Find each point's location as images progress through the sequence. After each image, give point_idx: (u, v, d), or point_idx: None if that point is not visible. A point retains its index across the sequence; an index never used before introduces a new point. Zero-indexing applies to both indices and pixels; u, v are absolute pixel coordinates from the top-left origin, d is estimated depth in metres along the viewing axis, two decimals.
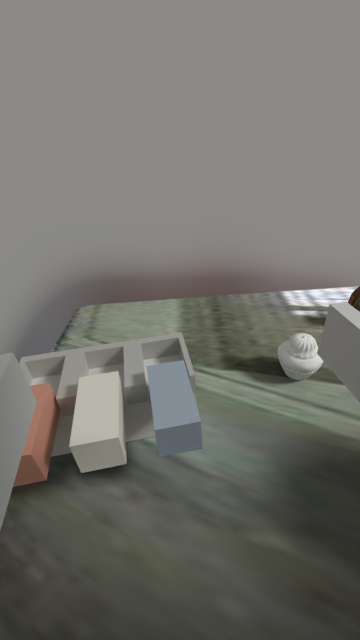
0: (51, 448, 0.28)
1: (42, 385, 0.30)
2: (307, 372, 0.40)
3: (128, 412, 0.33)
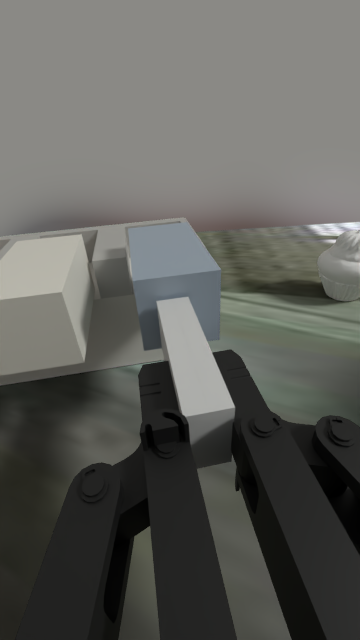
0: None
1: None
2: None
3: (100, 313, 0.21)
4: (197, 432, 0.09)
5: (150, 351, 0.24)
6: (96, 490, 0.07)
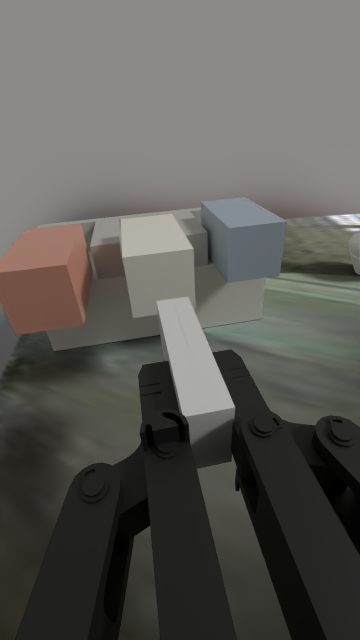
0: (87, 298, 0.20)
1: (72, 225, 0.22)
2: None
3: None
4: (197, 432, 0.09)
5: (215, 316, 0.28)
6: (96, 490, 0.07)
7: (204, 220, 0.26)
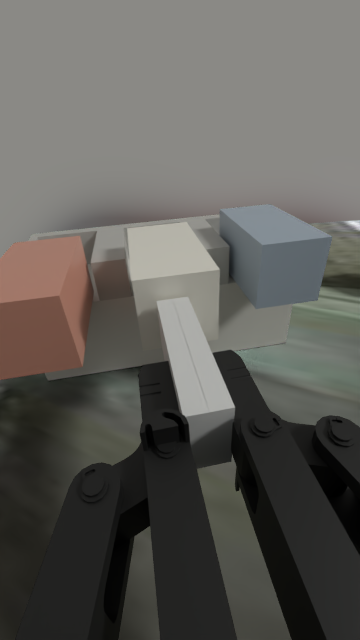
0: (86, 328, 0.17)
1: (69, 238, 0.18)
2: None
3: None
4: (197, 432, 0.09)
5: (233, 340, 0.24)
6: (96, 490, 0.07)
7: (224, 231, 0.22)
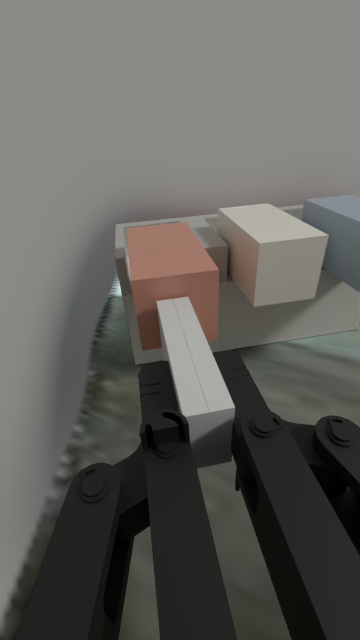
0: None
1: (177, 223, 0.20)
2: None
3: None
4: (197, 432, 0.09)
5: (310, 327, 0.25)
6: (96, 490, 0.07)
7: (310, 220, 0.23)
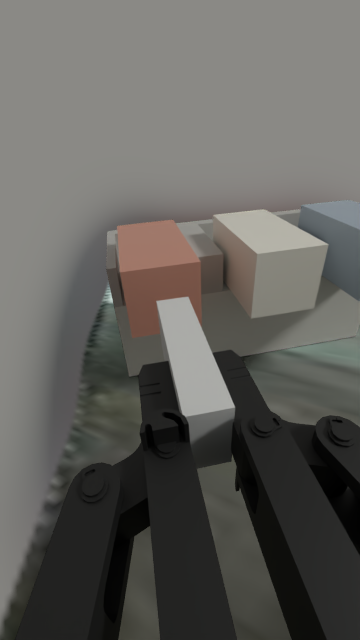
0: None
1: (165, 221, 0.21)
2: None
3: None
4: (197, 432, 0.09)
5: (308, 334, 0.25)
6: (96, 490, 0.07)
7: (307, 226, 0.22)
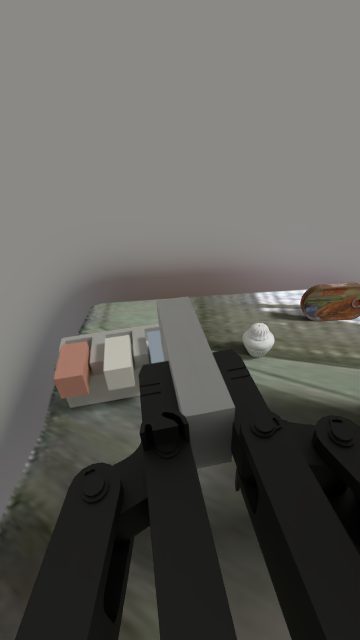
0: (89, 379, 0.47)
1: (82, 342, 0.48)
2: (262, 350, 0.56)
3: (135, 373, 0.49)
4: (197, 432, 0.09)
5: None
6: (96, 490, 0.07)
7: None
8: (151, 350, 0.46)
